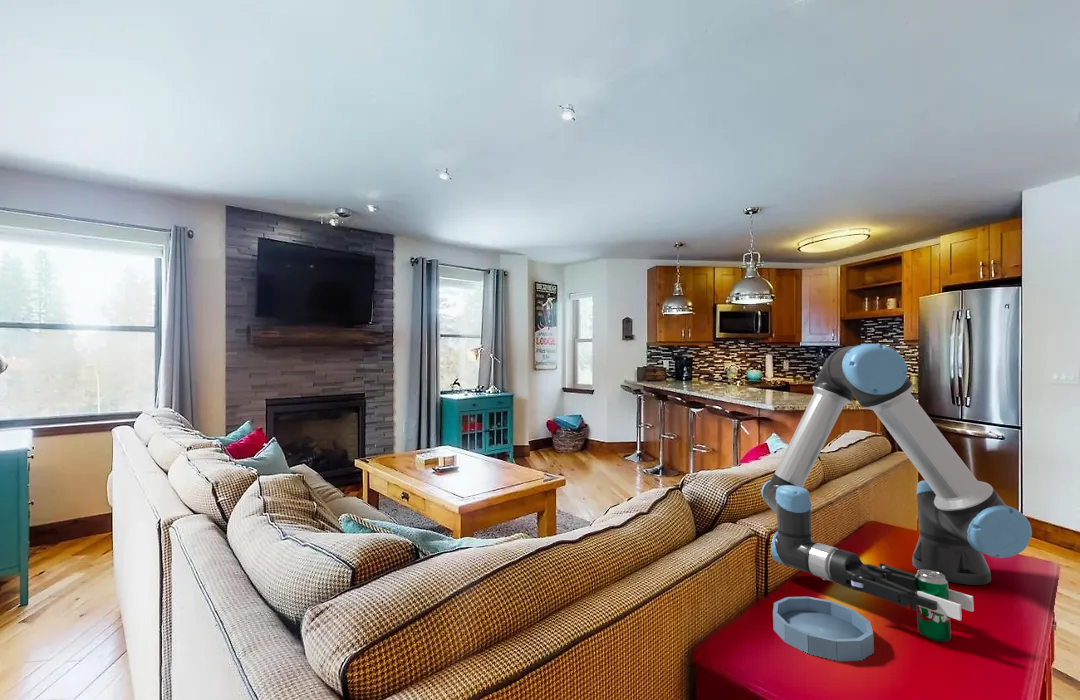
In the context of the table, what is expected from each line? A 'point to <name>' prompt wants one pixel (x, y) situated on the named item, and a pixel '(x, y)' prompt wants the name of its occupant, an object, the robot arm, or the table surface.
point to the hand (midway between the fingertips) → (966, 608)
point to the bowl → (823, 628)
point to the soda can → (928, 620)
